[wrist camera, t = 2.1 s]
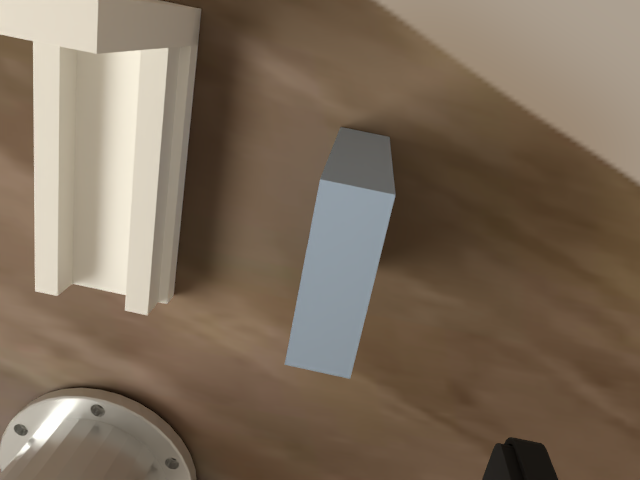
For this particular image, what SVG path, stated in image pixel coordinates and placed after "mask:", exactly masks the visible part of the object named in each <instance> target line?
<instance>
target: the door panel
mask: <svg viewBox="0 0 640 480" xmlns="http://www.w3.org/2000/svg"><path fill="white" fill-rule="evenodd" d="M394 199H395V185H394V175H393V166H392V156H391V146H390V137H387V136H383V135H378V134H373V133H368V132H363V131H358V130H353V129H348V128H344V127H340V130H339V132H338V135H337V138H336V140H335V143H334V145H333V148H332V150H331V153H330V156H329V158H328V161H327V163H326V166H325V168H324V171H323V174H322V176H321V179H320V183H319V188H318V194H317V199H316V204H315V209H314V215H313V220H312V225H311V230H310V235H309V241H308V246H307V251H306V256H305V262H304V267H303V272H302V277H301V282H300V288H299V293H298V298H297V303H296V309H295V314H294V319H293V324H292V329H291V335H290V340H289V345H288V350H287V355H286V361H285V365H289V366H294V367H298V368H303V369H307V370H312V371H317V372H321V373H326V374H330V375H335V376H340V377H344V378H349V379H350V377H351V373H352V369H353V365H354V361H355V357H356V353H357V349H358V345H359V341H360V337H361V333H362V329H363V324H364V320H365V316H366V312H367V308H368V304H369V300H370V296H371V292H372V288H373V284H374V280H375V276H376V272H377V268H378V264H379V260H380V256H381V252H382V247H383V243H384V239H385V235H386V231H387V227H388V223H389V219H390V215H391V211H392V207H393V203H394Z"/></svg>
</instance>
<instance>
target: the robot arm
mask: <svg viewBox="0 0 640 480" xmlns="http://www.w3.org/2000/svg"><path fill="white" fill-rule="evenodd" d="M0 468H1V471H2V472H1V473H0V480H197V479H196V470H195V467H194V464H193V461H192V458H191V455H190V453H189V451H188V449H187V448H186V446H185V444H184V443H183V441H182V439H181V438H180V437H179V436H178V434H177V433H176V432H175V431H174V430H173V429H172V427H171V426H170V425H169V424H168V423H166V422H165V421H164V420H163V419H162V418H160V417H159V416H158V415H157V414H156V413H154V412H153V411H151V410H150V409H148V408H146V407H145V406H143V405H141V404H140V403H138V402H136V401H134V400H131V399H129V398H127V397H124V396H122V395H120V394H116V393H112V392H108V391H104V390H100V389H90V388H69V389H61V390H57V391H53V392H50V393H46V394H44V395H42V396H40V397H38V398H36V399H34V400H32V401H31V402H30V403H29V404H28V405H27V406H25V407H24V408H23V409H22V410H21V411H20V412H19V413H18V414H17V415H16V416H15V417H14V418H13V419H12V421H11V422H10V423H9V425H8V426H7V428H6V430H5V432H4V434H3V436H2V440H1V445H0ZM482 480H558V478H557V476H556V473H555V470H554V468H553V465H552V463H551V460H550V458H549V455H548V452H547V450H546V448H545V446H544V445H543V444H541V443H537V442H532V441H527V440H522V439H517V438H512V437H510V438H508V439H507V440H506V442H505V444H500V443H497V444H496V445H495V447H494V449H493V451H492V454H491V457H490V460H489V462H488V465H487V468H486V470H485V473H484V476H483V479H482Z"/></svg>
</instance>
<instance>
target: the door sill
mask: <svg viewBox="0 0 640 480" xmlns="http://www.w3.org/2000/svg"><path fill="white" fill-rule="evenodd" d="M200 19H201V9H200V8H195V7H190V6H185V5H180V4H175V3H170V2H165V1H160V0H0V34H1V35H6V36H11V37H16V38H21V39H26V40H31V41H33V85H34V210H35V291H37V292H41V293H46V294H51V295H55V296H58V295H59V294H61V293H62V292H63V291H64V290H65V289H67V288H68V287H69V286H70V285H71V284H77V285H81V286H86V287H91V288H95V289H100V290H105V291H109V292H114V293H119V294H123V295H126V301H125V311H130V312H134V313H139V314H143V315H148V314H149V313H150V312H151V310H152V309H153V308H154V307H155V305H156V304H157V303H158V302H161V303H165V304H168V302H169V301H170V300H171V298H172V297H173V296H174V287H175V277H176V266H177V256H178V246H179V236H180V225H181V215H182V205H183V194H184V184H185V174H186V164H187V153H188V143H189V133H190V122H191V112H192V102H193V91H194V81H195V71H196V61H197V50H198V40H199V30H200Z"/></svg>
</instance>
